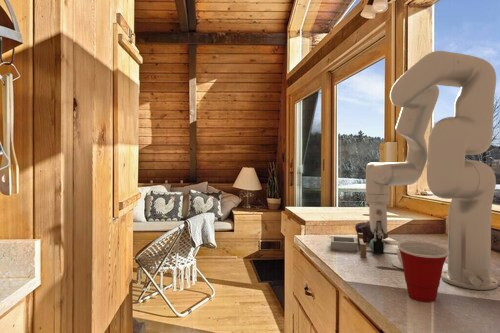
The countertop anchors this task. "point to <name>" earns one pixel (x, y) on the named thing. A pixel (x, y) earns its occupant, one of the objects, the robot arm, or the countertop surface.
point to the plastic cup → (422, 268)
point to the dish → (344, 243)
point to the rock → (366, 231)
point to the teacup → (399, 262)
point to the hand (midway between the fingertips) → (377, 250)
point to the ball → (372, 244)
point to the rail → (361, 245)
